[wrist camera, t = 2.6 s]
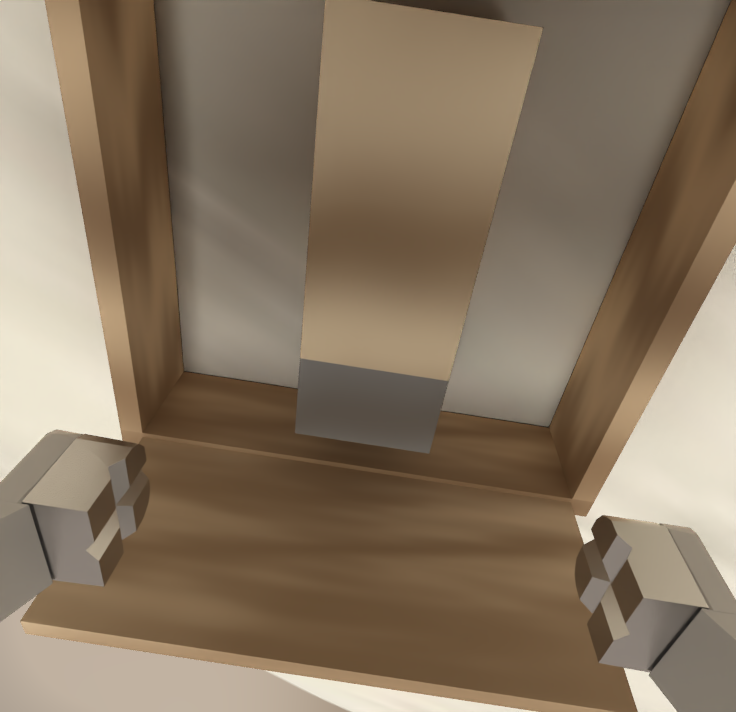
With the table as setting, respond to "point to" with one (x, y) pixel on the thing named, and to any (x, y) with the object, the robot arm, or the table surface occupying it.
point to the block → (401, 210)
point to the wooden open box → (356, 460)
